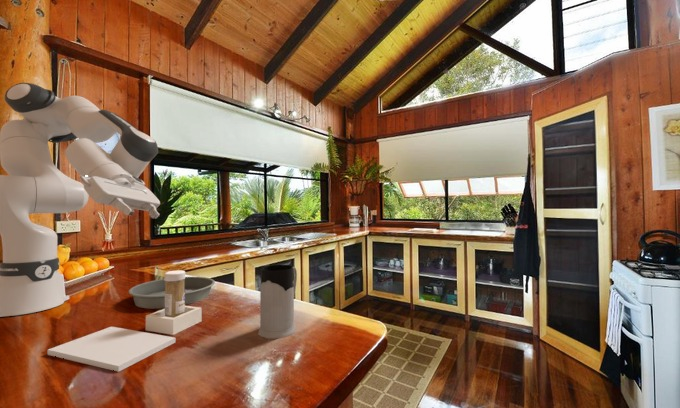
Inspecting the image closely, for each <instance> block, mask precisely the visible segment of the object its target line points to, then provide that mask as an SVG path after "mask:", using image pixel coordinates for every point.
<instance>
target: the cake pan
mask: <svg viewBox="0 0 680 408" xmlns="http://www.w3.org/2000/svg"><path fill="white" fill-rule="evenodd" d="M215 284H216V281H215V280H214V279H213V278H209V277H206V276H185V280H184V293H185V306H188V305H190V304H194V303H197V302H200V301H202V300H204V299H206V298H208V297H209V295H210V293H211V289H212V287H213V286H214V285H215ZM185 290H189V291H185ZM128 294H129V295H131V296H132V298H133V301H134V305H135V306H136V307H138V308H140V309H141V308H143V309H154V310H155V309H165V280H164V278H161V279H155V280H151V281H147V282H142V283H139V284H136V285H135V286H133V287H131V288H130V289H129V290H128Z"/></svg>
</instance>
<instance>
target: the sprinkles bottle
mask: <svg viewBox="0 0 680 408" xmlns="http://www.w3.org/2000/svg"><path fill="white" fill-rule="evenodd" d="M185 277H186V271H185V270H182V269H181V270H171V271H170V270H169V271H167V272H165V273H164V278H163V279H164V280H165V308H164V309H165V317H172V318H174V317H177V316H179V315H181V314H184V311H185V306H186V305H185V293H184V291H185V290H184V280H185Z"/></svg>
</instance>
